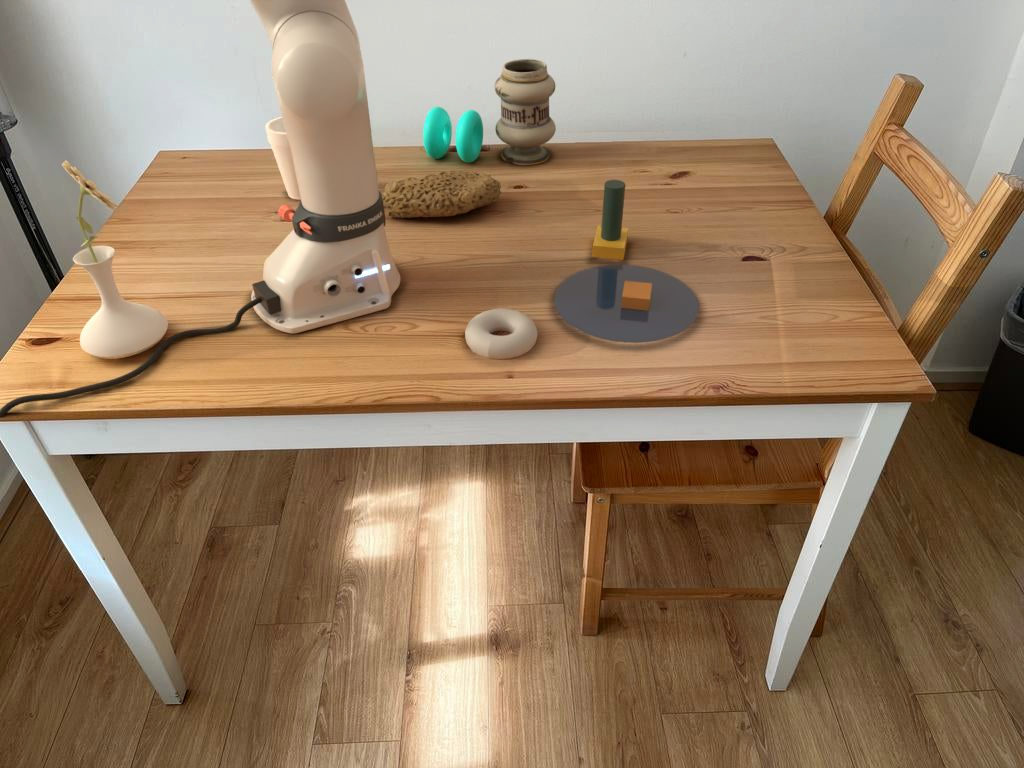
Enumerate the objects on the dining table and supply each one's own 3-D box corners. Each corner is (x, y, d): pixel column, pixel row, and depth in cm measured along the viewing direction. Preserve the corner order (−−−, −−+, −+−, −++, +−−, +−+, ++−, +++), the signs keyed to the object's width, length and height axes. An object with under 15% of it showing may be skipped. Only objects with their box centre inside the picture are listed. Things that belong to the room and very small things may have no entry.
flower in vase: (169, 358, 104) (107, 184, 89) (78, 373, 102) (-2, 197, 86) (173, 307, 114) (118, 143, 99) (91, 320, 112) (20, 154, 96)
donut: (537, 324, 110) (468, 322, 110) (538, 304, 108) (467, 302, 108) (537, 367, 102) (462, 365, 102) (537, 346, 100) (461, 344, 100)
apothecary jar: (484, 159, 156) (481, 67, 145) (517, 140, 164) (517, 52, 153) (533, 172, 151) (534, 78, 140) (565, 152, 159) (569, 61, 147)
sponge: (385, 233, 134) (495, 216, 130) (373, 188, 131) (485, 170, 127) (405, 212, 146) (507, 196, 141) (395, 171, 142) (499, 153, 138)
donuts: (470, 171, 152) (468, 120, 146) (423, 165, 154) (418, 116, 148) (485, 152, 159) (484, 103, 153) (440, 147, 161) (437, 99, 155)
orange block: (620, 308, 111) (622, 296, 110) (623, 292, 115) (624, 280, 113) (648, 311, 110) (650, 299, 109) (650, 294, 114) (652, 283, 113)
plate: (624, 367, 102) (625, 361, 101) (525, 300, 115) (525, 295, 114) (727, 312, 112) (729, 306, 111) (625, 256, 125) (626, 251, 124)
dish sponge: (622, 265, 123) (629, 194, 115) (591, 262, 124) (596, 192, 116) (626, 244, 128) (633, 175, 121) (596, 241, 129) (601, 173, 121)
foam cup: (320, 178, 150) (308, 111, 142) (337, 195, 144) (326, 126, 136) (272, 189, 146) (258, 121, 138) (288, 207, 140) (273, 137, 132)
